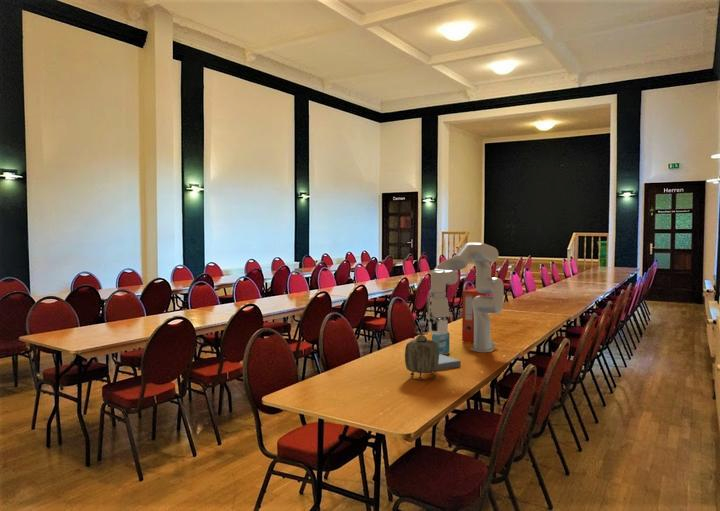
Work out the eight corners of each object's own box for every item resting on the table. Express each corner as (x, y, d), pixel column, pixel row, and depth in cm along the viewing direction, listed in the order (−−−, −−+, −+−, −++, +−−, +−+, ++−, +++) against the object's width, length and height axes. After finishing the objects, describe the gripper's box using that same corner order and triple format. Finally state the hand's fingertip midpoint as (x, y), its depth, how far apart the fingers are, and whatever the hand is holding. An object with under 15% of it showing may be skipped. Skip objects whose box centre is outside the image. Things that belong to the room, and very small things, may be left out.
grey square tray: (441, 359, 282) (441, 354, 282) (460, 366, 268) (460, 360, 267) (416, 363, 274) (416, 357, 274) (435, 370, 260) (435, 364, 260)
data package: (438, 356, 289) (438, 335, 288) (431, 355, 292) (431, 334, 291) (449, 352, 298) (449, 331, 298) (442, 351, 301) (442, 330, 301)
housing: (447, 333, 267) (447, 318, 267) (439, 334, 265) (439, 319, 264) (436, 330, 275) (436, 315, 275) (429, 331, 273) (429, 316, 272)
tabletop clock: (438, 377, 247) (438, 325, 246) (433, 383, 239) (433, 328, 238) (409, 374, 253) (409, 323, 252) (403, 379, 245) (403, 326, 244)
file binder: (486, 338, 334) (486, 288, 333) (474, 343, 321) (474, 291, 319) (474, 337, 339) (474, 288, 338) (462, 341, 326) (462, 290, 324)
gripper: (429, 297, 262) (429, 333, 263) (456, 294, 270) (456, 329, 271) (420, 295, 268) (420, 330, 269) (447, 293, 276) (446, 327, 277)
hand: (438, 329), depth 270 cm, fingers closed on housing, 5 cm apart
